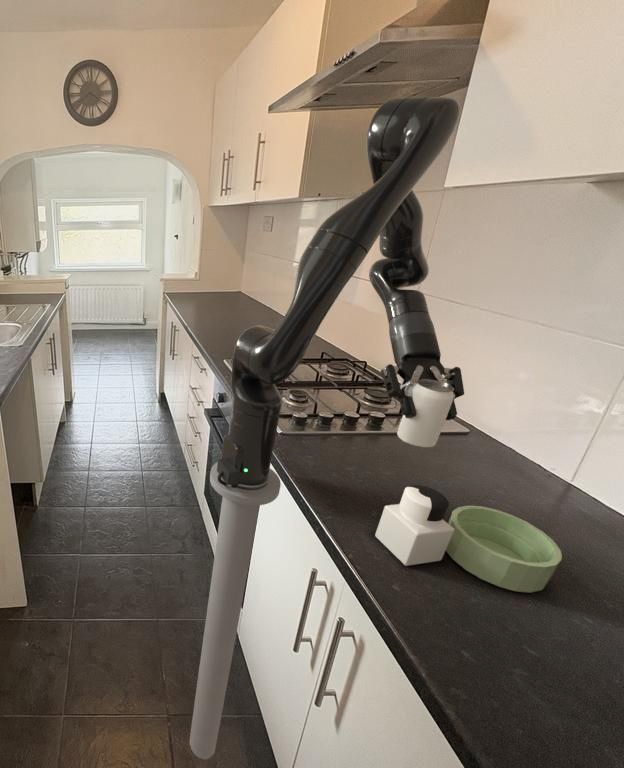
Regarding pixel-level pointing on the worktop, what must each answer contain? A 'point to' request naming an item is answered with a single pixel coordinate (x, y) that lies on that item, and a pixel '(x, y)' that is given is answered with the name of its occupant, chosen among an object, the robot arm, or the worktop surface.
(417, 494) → the medicine bottle
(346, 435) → the worktop surface
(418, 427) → the can
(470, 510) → the shallow round dish
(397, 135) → the robot arm
